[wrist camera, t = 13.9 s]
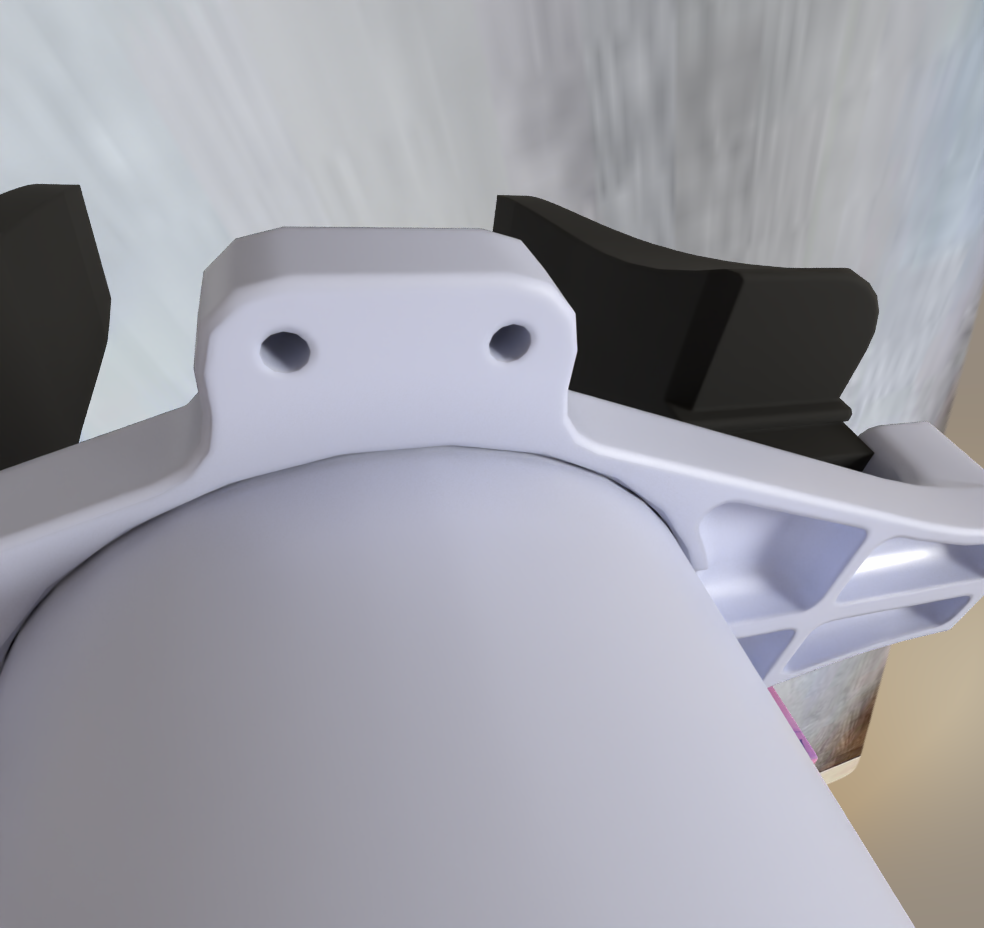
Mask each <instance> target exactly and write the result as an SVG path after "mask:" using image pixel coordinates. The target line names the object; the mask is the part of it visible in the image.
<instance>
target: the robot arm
mask: <svg viewBox="0 0 984 928" xmlns="http://www.w3.org/2000/svg"><path fill="white" fill-rule="evenodd" d="M110 306H111V296H110V293H109V289H108V285H107V282H106V278H105V275H104V271H103V267H102V264H101V260H100V257H99V253H98V249H97V246H96V242H95V238H94V235H93V231H92V228H91V224H90V220H89V217H88V213H87V210H86V206H85V202H84V199H83V195H82V191H81V188H80V185H60V184H32V185H26V186H23V187H19V188H16V189H14V190H11V191H8V192H6V193H3V194H1V195H0V928H915V927H914V925H913V924H912V922H911V920H910V919H909V917H908V915H907V914H906V912H905V911H904V909H903V907H902V906H901V904H900V902H899V901H898V899H897V898H896V896H895V894H894V893H893V891H892V890H891V888H890V886H889V885H888V883H887V881H886V880H885V879H884V877H883V875H882V873H881V872H880V870H879V869H878V867H877V865H876V864H875V862H874V860H873V859H872V857H871V856H870V854H869V853H868V851H867V849H866V847H865V846H864V844H863V843H862V841H861V839H860V838H859V836H858V834H857V833H856V831H855V830H854V828H853V827H852V825H851V823H850V822H849V820H848V818H847V817H846V815H845V813H844V812H843V810H842V809H841V807H840V805H839V804H838V802H837V800H836V799H835V797H834V796H833V794H832V793H831V791H830V789H829V787H828V786H827V784H826V783H825V781H824V779H823V778H822V776H821V774H820V773H819V771H818V770H817V768H816V766H815V765H814V763H813V762H812V760H811V758H810V757H809V755H808V753H807V752H806V750H805V749H804V747H803V745H802V744H801V742H800V740H799V739H798V737H797V736H796V734H795V732H794V731H793V729H792V728H791V726H790V724H789V723H788V721H787V719H786V718H785V716H784V715H783V713H782V711H781V710H780V708H779V706H778V705H777V703H776V702H775V700H774V698H773V697H772V695H771V694H770V692H769V690H768V689H767V688H769V687H771V686H774V685H776V684H779V683H782V682H784V681H787V680H790V679H792V678H795V677H798V676H800V675H803V674H805V673H808V672H811V671H813V670H816V669H819V668H822V667H824V666H827V665H830V664H833V663H836V662H838V661H841V660H844V659H847V658H850V657H853V656H855V655H858V654H861V653H864V652H868V651H871V650H874V649H878V648H881V647H884V646H888V645H891V644H894V643H898V642H901V641H905V640H909V639H913V638H917V637H922V636H926V635H930V634H934V633H938V632H943V631H947V630H949V629H951V628H952V627H953V626H954V625H955V624H956V623H957V622H958V621H959V620H960V619H961V618H962V617H963V616H964V615H965V614H966V613H967V612H968V610H970V609H971V608H972V607H973V606H974V605H975V604H976V602H978V601H979V600H980V598H982V596H983V595H984V469H983V468H982V467H981V466H979V465H978V464H977V463H976V462H975V461H974V460H972V459H971V458H970V457H969V456H968V455H967V454H965V453H964V452H963V451H962V450H961V449H960V448H958V447H957V446H956V445H955V444H954V443H953V442H952V441H950V440H949V439H948V438H947V437H946V436H945V435H943V434H942V433H941V432H940V431H939V430H938V429H936V428H935V427H934V426H933V425H932V424H931V423H929V422H928V421H922V422H911V423H901V424H890V425H880V426H876V427H872V428H869V429H867V430H866V431H864V432H863V433H861V434H860V435H859V436H857V435H856V434H855V433H854V432H853V431H852V430H851V429H850V428H849V427H848V426H847V425H845V424H844V423H843V422H844V421H848V420H849V419H850V417H851V415H852V410H851V408H850V407H849V406H848V405H847V404H845V403H844V402H843V401H842V400H841V399H840V398H839V397H840V396H841V394H842V392H843V390H844V389H845V387H846V385H847V384H848V382H849V380H850V378H851V377H852V375H853V373H854V371H855V370H856V368H857V366H858V364H859V363H860V361H861V359H862V357H863V356H864V354H865V352H866V350H867V348H868V346H869V344H870V342H871V339H872V337H873V335H874V333H875V329H876V324H877V319H878V314H879V308H878V300H877V295H876V293H875V292H874V290H873V288H872V287H871V285H870V283H869V282H867V281H866V280H865V279H863V278H862V277H860V276H859V275H858V274H856V273H855V272H854V271H852V270H851V269H849V268H783V267H772V266H761V265H751V264H743V263H736V262H729V261H723V260H718V259H712V258H707V257H702V256H696V255H692V254H688V253H684V252H679V251H676V250H672V249H669V248H665V247H662V246H658V245H655V244H652V243H649V242H646V241H643V240H640V239H637V238H634V237H632V236H629V235H626V234H624V233H621V232H619V231H616V230H613V229H611V228H609V227H606V226H604V225H602V224H599V223H597V222H595V221H592V220H590V219H588V218H586V217H583V216H581V215H579V214H577V213H574V212H572V211H570V210H568V209H565V208H563V207H561V206H558V205H556V204H554V203H551V202H549V201H546V200H543V199H540V198H536V197H532V196H512V195H497V202H496V210H495V218H494V226H493V232H492V231H488V230H485V229H479V228H375V227H280V228H276V229H272V230H268V231H264V232H260V233H256V234H252V235H248V236H244V237H240V238H236V239H235V240H234V241H233V242H232V243H231V244H230V245H229V246H228V247H227V248H226V249H225V250H224V251H223V252H222V253H221V254H220V255H219V256H218V257H217V258H216V259H215V260H214V261H213V262H212V263H211V264H210V265H209V266H208V267H207V268H206V269H205V270H204V273H203V280H202V287H201V295H200V302H199V309H198V319H197V332H196V344H195V357H194V373H195V378H196V383H197V388H198V393H197V394H196V395H195V396H194V398H193V399H192V400H191V401H190V402H189V403H188V404H187V405H185V406H183V407H180V408H177V409H174V410H171V411H169V412H166V413H163V414H160V415H157V416H154V417H152V418H149V419H146V420H143V421H140V422H137V423H134V424H132V425H129V426H126V427H123V428H120V429H117V430H115V431H112V432H109V433H106V434H103V435H100V436H97V437H95V438H92V439H89V440H86V441H83V442H80V443H79V439H80V435H81V430H82V427H83V424H84V420H85V417H86V414H87V410H88V407H89V404H90V400H91V397H92V393H93V390H94V387H95V383H96V380H97V377H98V373H99V370H100V366H101V363H102V359H103V356H104V352H105V348H106V345H107V340H108V331H109V321H110Z"/></svg>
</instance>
